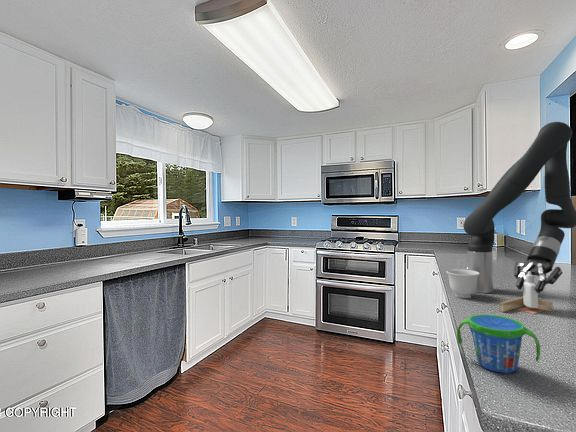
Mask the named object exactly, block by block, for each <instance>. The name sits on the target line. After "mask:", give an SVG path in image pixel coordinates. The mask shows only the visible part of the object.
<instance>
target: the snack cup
mask: <svg viewBox="0 0 576 432" xmlns="http://www.w3.org/2000/svg"><path fill="white" fill-rule="evenodd" d="M464 324H467V325H468V327H469V329H470V333H471V336H472V340H473V345H474V352H475V355H476V359H477V361H478V363H479V364H480V365H481V366H482V367H483V368H485V369H487V370H489V371H492V372H497V373H503V374H505V375H506V374H510V373H513V372H515V371H518V367H519V360H520V355H521V350H522V349H521V348H522V340H523V339H522V338H523V336H525V335H527V336H529V337H532V338H533V340H534V343H535V347H536V348H535V349H536V356H535V361H536V362H539V359H540V355H541V345H540V341H539V339H538V337H537V336H536V334H535V333H534V332H533V331H531V329H529V328H527V327H525V325H524V324H523V323H522V322H520V321H518V320H516V319H513V318H509V317H506V316H500V315H494V314H475V315H472V316H470V317H469V318H466V319H464V320H462V321H461V322H460V323H459V325H458V327H457V331H456V340H457V343H458V344H459V345H461V344H462V342H463V339H462V334H461V328H462V326H464Z"/></svg>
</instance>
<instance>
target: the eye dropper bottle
mask: <svg viewBox="0 0 576 432" xmlns="http://www.w3.org/2000/svg"><path fill="white" fill-rule="evenodd" d="M527 273H528V274H527V275H525V281H524V283H523V286H522V296H523V302H524V305H525V306H524V307H526V306H527V307H530V308H538V299H539V293H537V292H536V290H535V288H536V285H537V283H536V282H535V275H532V274H531V271H528V272H527ZM538 309H539V308H538Z"/></svg>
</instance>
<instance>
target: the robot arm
mask: <svg viewBox="0 0 576 432" xmlns="http://www.w3.org/2000/svg"><path fill="white" fill-rule="evenodd" d="M572 136H573V131H572V128H571V127H570V126H569V124H567V123H565V122H563V121H562V122H561V121H553V122H552V121H551V122H549V123H547V124H545V125H543V126H542V127H541V129H540V130H539V131H538V133H537V135H536V137H535V139H534V141H533V142H532V143H531V144H530V146H529V147H528V149H527V150H526V152H525V153H524V154H523V155H522V156H521V157H520V158H519V159H518V160H517V161H516V162H515V163H514V164H512V165H511V166H510V168H509V169H508V170H507V171H506V172H505V173H504V174H503V175H502V176H501V177H500V179H499V180H498V181H497V182H496V184H495V185H494V187H493V188H492V189H491V190H490V191H489V193H488V194H486V196H485V198H484V199H483V200H482V202H481V203H480V204H479V205H478V206H477V207H476V208H475V209H474V210H473V211H472V212H471V213H470V214H469V215H468V216H467V217H466V218H465V219H464V222H463V230H464V232H465V233H466V234H467V235H469V236H470V237H471V239H470V241H469V242H468V243H467V246H466V247H467V249H466V250H467V251H466V252H467V267H465V270H472V271H476V272H479V273H480V275H478V279H477V287H476V291H475V292H474V293H482V294H483V293H485V294H486V293H487V294H489V293H493V292H494V272H493V271H494V269H493V268H494V266H493V265H494V264H493V263H494V261H493V248H494V244H495V231H496V228H495V222H494V220H493V219H494V218H495V217H496V215H498V213H500V212H501V211H502V210H503V209H505V208H506V207H507V206H509V205H510V204H512V203H513V202H514V201H516V200H517V199H518V198H519V197H520V196H521V195H522V194H523V193H524V192H525V191H526V190H527V189H528V188H529V186H530V184H531V183H532V182H533V181H534V180H535V178H536V177H537V176H538V174H539V172H540V171H541V170H542V168H543V167H544V195H545V197H544V198H545V202H546V203H547V204H549V205H554V206H558V207H559V208H560V209H559V208H557V209H556V208H555V209H554V208H553V209H550V208H548V209H546V210H544V211H542V212H541V215H540V229H539V233H538V235H537V238H536V240H535V241H534V242H533V243H532V247H531V249H530V251H529V253H528V255H527V257H526V260H525V261H524V262H523V263H519V262H518V261H515V262H514V265H513V272H512V273H513V274H512V275H513V276H514V277H515V279H516V282H515V286H516V288H517V289H518V290H520V291H521V290H523V283H524V282H526V281H525V275H527V274H528V271H531V274H532V275H534V276H537V277H539V280H538V281H537V283H536V284H537V285H536V288H535V290H536V292H537V293H538V294H540V293H541V292H544V289H545V287H546V285H547V284H548V285H549V284H550V285H554V284H555V283H556V282H557V281H558V279H559V278H560V277H561V276H562V275H563V270H562V269H561V267H560V266H554V265H555V263H556V260H557V258H558V256H559V254H560V252H561V251H560V250H561V246H562V243H563V241H564V239H565V234H566V233H565V232H564V230H563V229H573V228H575V227H576V209H575V206H574V204H573V201H572V198H571V197H572V196H571V184H570V176H569V171H568V170H569V169H568V161H567V149H568V144H569V142H570V140H571V139H572ZM548 273H549V275H548V276H547V274H548Z"/></svg>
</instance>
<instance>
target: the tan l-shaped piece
mask: <svg viewBox="0 0 576 432" xmlns="http://www.w3.org/2000/svg"><path fill="white" fill-rule="evenodd" d="M498 303H499V308H498V309H499V312H501V313H506V312H510V311H512V309H513V310H516V311H519V312H522V313H523V312H524V313H527V314H532V315H535V314H538V313H540V312H544V311H547V312H548V311H549V312H553V305H554V304H553V301H549V300H544V299H539V298H538V308H530V307H527V306H525V305H524V302H523V295H522V296H520V297H519V296H518V297H515V298H511V299H508V300H504V301H501V302H498ZM509 310H510V311H509Z"/></svg>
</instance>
